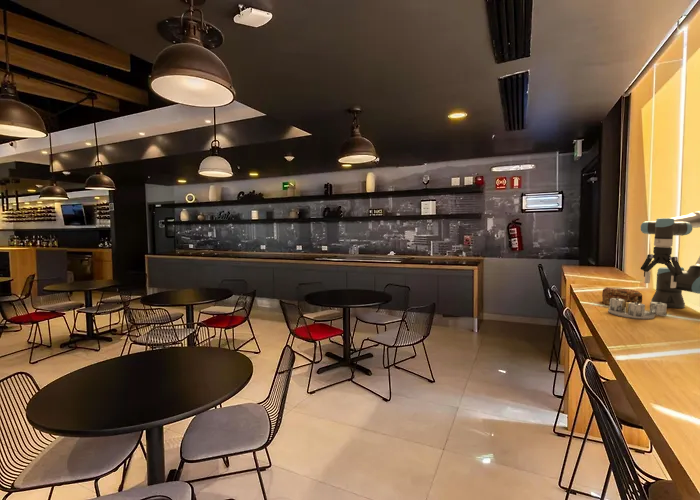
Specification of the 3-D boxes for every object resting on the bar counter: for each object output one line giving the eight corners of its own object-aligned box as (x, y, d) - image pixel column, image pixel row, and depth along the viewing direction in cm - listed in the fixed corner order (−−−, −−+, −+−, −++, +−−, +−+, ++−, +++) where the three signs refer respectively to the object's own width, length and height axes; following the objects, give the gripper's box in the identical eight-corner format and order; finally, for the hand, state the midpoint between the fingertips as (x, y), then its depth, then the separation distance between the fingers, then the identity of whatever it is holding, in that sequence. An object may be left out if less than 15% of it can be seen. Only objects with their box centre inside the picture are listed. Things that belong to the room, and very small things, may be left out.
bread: (603, 304, 218) (604, 288, 217) (601, 301, 228) (602, 285, 227) (642, 308, 209) (643, 291, 208) (638, 304, 218) (639, 288, 217)
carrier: (628, 308, 209) (629, 295, 208) (664, 318, 189) (665, 303, 188) (599, 310, 205) (600, 297, 204) (633, 320, 185) (634, 305, 184)
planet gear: (656, 312, 201) (656, 301, 200) (669, 315, 194) (669, 304, 194) (646, 312, 199) (647, 302, 199) (659, 316, 193) (659, 305, 192)
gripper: (634, 244, 205) (631, 281, 207) (682, 248, 180) (679, 290, 182) (645, 244, 206) (642, 281, 208) (694, 248, 182) (690, 289, 184)
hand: (659, 285), depth 195 cm, fingers open, 13 cm apart
